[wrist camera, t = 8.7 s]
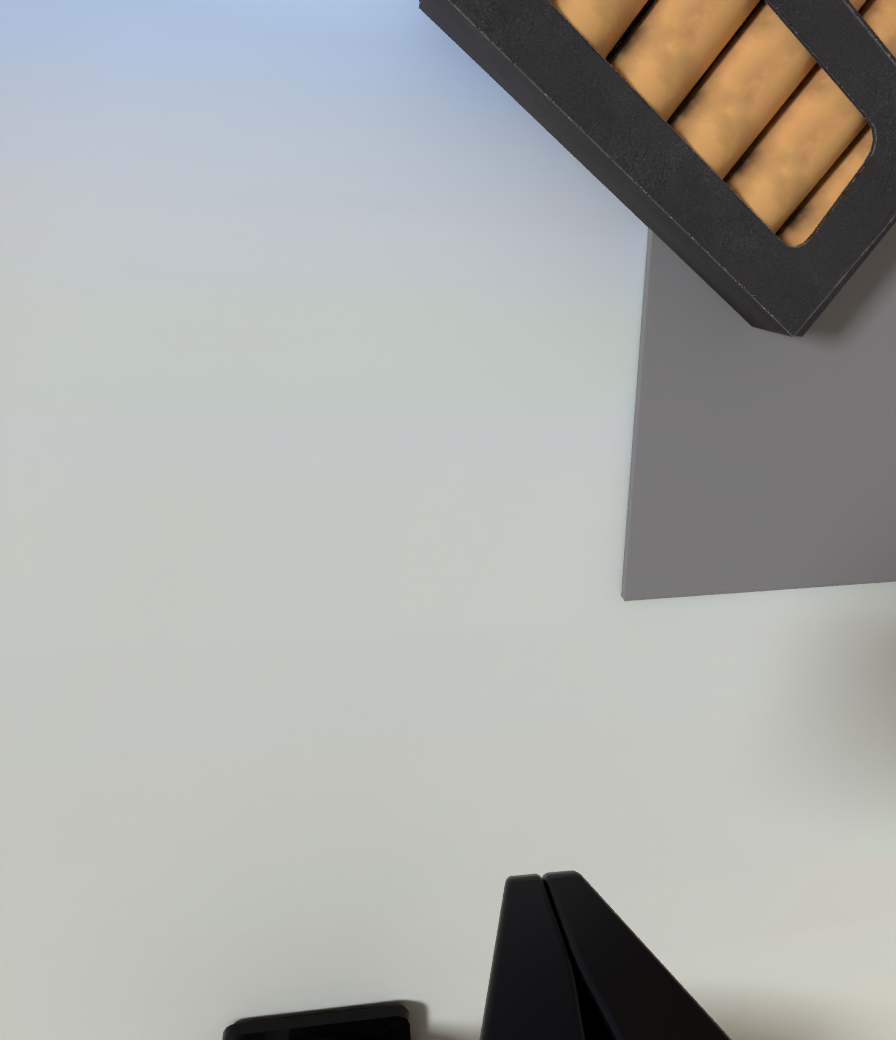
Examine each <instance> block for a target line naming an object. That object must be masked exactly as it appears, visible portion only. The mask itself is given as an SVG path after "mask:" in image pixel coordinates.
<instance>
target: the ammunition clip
mask: <svg viewBox="0 0 896 1040" xmlns="http://www.w3.org/2000/svg"><path fill="white" fill-rule="evenodd" d="M647 1H648V0H419V2H420V4H419V8H420V9H421V10H422V11H423V12H424V13H425V14H426V15H427V16H428V17H429V18H430V19H431V20H432V21H433V22H434V23H435V24H437V25H438V26H439V27H440V28H441V29H442V30H443V31H444V32H445V33H446V34H447V35H448V36H449V37H450V38H451V39H452V40H453V41H454V42H455V43H456V44H457V45H458V46H459V47H461V48H462V49H463V50H464V51H465V52H466V53H467V54H468V55H469V56H470V57H471V58H472V59H473V60H474V61H475V62H476V63H477V64H478V65H479V66H480V67H481V68H482V69H484V70H485V71H486V72H487V73H488V74H489V75H490V76H491V77H492V78H493V79H494V80H495V81H496V82H497V83H498V84H499V85H500V86H501V87H502V88H503V89H504V90H505V91H506V92H508V93H509V94H510V95H511V96H512V97H513V98H514V99H515V100H516V101H517V102H518V103H519V104H520V105H521V106H522V107H523V108H524V109H525V110H526V111H527V112H528V113H529V114H530V115H532V116H533V117H534V118H535V119H536V120H537V121H538V122H539V123H540V124H541V125H542V126H543V127H544V128H545V129H546V130H547V131H548V132H549V133H550V134H551V135H552V136H553V137H554V138H556V139H557V140H558V141H559V142H560V143H561V144H562V145H563V146H564V147H565V148H566V149H567V150H568V151H569V152H570V153H571V154H572V155H573V156H574V157H575V158H576V159H577V160H578V161H580V162H581V163H582V164H583V165H584V166H585V167H586V168H587V169H588V170H589V171H590V172H591V173H592V174H593V175H594V176H595V177H596V178H597V179H598V180H599V181H600V182H601V183H602V184H604V185H605V186H606V187H607V188H608V189H609V190H610V191H611V192H612V193H613V194H614V195H615V196H616V197H617V198H618V199H619V200H620V201H621V202H622V203H623V204H624V205H625V206H627V207H628V208H629V209H630V210H631V211H632V212H633V213H634V214H635V215H636V216H637V217H638V218H639V219H640V220H641V221H642V222H643V223H644V224H645V225H646V226H647V227H648V228H649V229H651V230H652V231H653V232H654V233H655V234H656V235H657V236H658V237H659V238H660V239H661V240H662V241H663V242H664V243H665V244H666V245H667V246H668V247H669V248H670V249H671V250H672V251H673V252H675V253H676V254H677V255H678V256H679V257H680V258H681V259H682V260H683V261H684V262H685V263H686V264H687V265H688V266H689V267H690V268H691V269H692V270H693V271H694V272H695V273H696V274H697V275H699V276H700V277H701V278H702V279H703V280H704V281H705V282H706V283H707V284H708V285H709V286H710V287H711V288H712V289H713V290H714V291H715V292H716V293H717V294H718V295H719V296H720V297H721V298H723V299H724V300H725V301H726V302H727V303H728V304H729V305H730V306H731V307H732V308H733V309H734V310H735V311H736V312H737V313H738V314H739V315H740V316H741V317H742V318H743V319H744V320H745V321H747V322H748V323H749V324H750V325H751V326H752V327H754V328H758V329H762V330H766V331H770V332H774V333H778V334H782V335H786V336H790V337H801V338H802V337H803V336H804V334H805V333H806V332H807V331H808V329H809V328H810V327H811V326H812V324H813V323H814V322H815V321H816V320H817V318H818V317H819V316H820V315H821V313H822V312H823V311H824V310H825V308H826V307H827V306H828V305H829V304H830V302H831V301H832V300H833V299H834V297H835V296H836V295H837V294H838V292H839V291H840V290H841V289H842V287H843V286H844V285H845V284H846V283H847V281H848V280H849V279H850V278H851V276H852V275H853V274H854V273H855V271H856V270H857V269H858V268H859V267H860V265H861V264H862V263H863V262H864V260H865V259H866V258H867V257H868V255H869V254H870V253H871V252H872V251H873V249H874V248H875V247H876V246H877V244H878V243H879V242H880V241H881V239H882V238H883V237H884V236H885V235H886V233H887V232H888V231H889V230H890V228H891V227H892V226H893V225H894V223H895V222H896V0H867V1H866V0H655V1H654V2H653V4H652V5H651V6H650V8H649V9H648V10H647V12H646V13H645V14H644V16H643V17H642V18H641V20H640V21H639V22H638V24H637V25H636V26H635V27H634V29H633V30H632V31H631V33H630V34H629V35H628V37H627V38H626V39H625V41H624V42H623V43H622V45H621V46H620V47H619V49H618V50H617V51H616V53H615V54H614V55H613V57H612V58H611V59H610V60H609V62H607V61H606V59H605V58H606V57H607V55H608V54H609V53H610V51H611V50H612V49H613V47H614V46H615V45H616V43H617V42H618V41H619V39H620V38H621V36H622V35H623V34H624V32H625V31H626V30H627V28H628V27H629V26H630V24H631V23H632V22H633V20H634V19H635V18H636V16H637V15H638V14H639V12H640V11H641V9H642V8H643V7H644V5H645V4H646V3H647ZM862 5H863V6H862ZM858 10H859V11H858ZM733 35H735V36H734V38H733V39H732V40H731V41H730V43H729V44H728V45H727V47H726V48H725V49H724V50H723V52H722V53H721V54H720V55H719V57H718V58H717V59H716V60H715V58H716V57H717V56H718V54H719V53H720V52H721V51H722V49H723V48H724V47H725V45H726V44H727V43H728V41H729V40H730V39H731V38H732V36H733ZM714 60H715V62H714V63H713V64H712V66H711V67H710V68H709V69H708V67H709V66H710V65H711V63H712V62H713V61H714ZM707 69H708V71H707V72H706V73H705V71H706V70H707ZM704 73H705V74H704ZM703 74H704V76H703V77H702V78H701V76H702V75H703ZM700 78H701V80H700V81H699V82H698V80H699V79H700ZM697 82H698V83H697ZM696 83H697V85H696V86H695V87H694V85H695V84H696ZM693 87H694V88H693ZM692 88H693V90H692V91H691V89H692ZM690 91H691V92H690ZM689 92H690V93H689ZM688 93H689V95H688ZM687 95H688V96H687ZM686 96H687V97H686ZM685 97H686V99H685V100H684V98H685ZM683 100H684V101H683ZM682 101H683V102H682ZM681 102H682V104H681ZM680 104H681V105H680ZM679 105H680V106H679ZM678 106H679V107H678ZM677 107H678V109H677ZM676 109H677V110H676ZM675 110H676V111H675ZM674 111H675V112H674ZM673 113H674V114H673ZM672 114H673V115H672ZM671 115H672V116H671ZM670 117H671V118H670ZM669 118H670V119H669ZM668 119H669V120H668ZM667 120H668V121H667Z"/></svg>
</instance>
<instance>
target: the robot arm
mask: <svg viewBox="0 0 896 1040" xmlns="http://www.w3.org/2000/svg"><path fill="white" fill-rule="evenodd" d="M222 1040H411V1037H410V1021H409V1012H408V1010H407V1009H406V1008H405V1007H403V1006H400V1005H393V1006H385V1007H376V1008H367V1009H359V1010H350V1011H342V1012H333V1013H325V1014H316V1015H308V1016H299V1017H290V1018H282V1019H273V1020H265V1021H256V1022H248V1023H239V1024H233V1025H230V1026H229V1027H227V1028H226V1029H225V1030H224V1033H223V1039H222ZM480 1040H731V1039H730V1038H729V1037H728V1036H727V1034H726V1033H725V1032H724V1031H723V1030H722V1029H721V1028H720V1027H719V1026H718V1025H717V1023H716V1022H715V1021H714V1020H713V1019H712V1018H711V1017H710V1016H709V1015H708V1014H707V1012H706V1011H705V1010H704V1009H703V1008H702V1007H701V1006H700V1005H699V1004H698V1003H697V1002H696V1000H695V999H694V998H693V997H692V996H691V995H690V994H689V993H688V992H687V991H686V989H685V988H684V987H683V986H682V985H681V984H680V983H679V982H678V981H677V980H676V978H675V977H674V976H673V975H672V974H671V973H670V972H669V971H668V970H667V969H666V967H665V966H664V965H663V964H662V963H661V962H660V961H659V960H658V959H657V958H656V957H655V955H654V954H653V953H652V952H651V951H650V950H649V949H648V948H647V947H646V946H645V944H644V943H643V942H642V941H641V940H640V939H639V938H638V937H637V936H636V935H635V933H634V932H633V931H632V930H631V929H630V928H629V927H628V926H627V925H626V924H625V923H624V921H623V920H622V919H621V918H620V917H619V916H618V915H617V914H616V913H615V912H614V910H613V909H612V908H611V907H610V906H609V905H608V904H607V903H606V902H605V901H604V899H603V898H602V897H601V896H600V895H599V894H598V893H597V892H596V891H595V890H594V888H593V887H592V886H591V885H590V884H589V883H588V882H587V881H586V880H585V879H584V878H583V876H582V875H581V874H579V873H578V872H576V871H561V872H550V873H546V874H544V875H543V877H542V878H541V877H540V876H539V875H538V874H529V875H518V876H510V877H508V878H507V880H506V882H505V887H504V893H503V899H502V906H501V912H500V918H499V924H498V930H497V936H496V943H495V949H494V955H493V961H492V967H491V973H490V980H489V986H488V992H487V998H486V1004H485V1010H484V1017H483V1023H482V1029H481V1035H480Z"/></svg>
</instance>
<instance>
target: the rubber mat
mask: <svg viewBox="0 0 896 1040" xmlns="http://www.w3.org/2000/svg"><path fill="white" fill-rule="evenodd" d="M866 1H867V0H866ZM862 6H863V5H862ZM858 11H859V10H858ZM734 36H735V35H733V36H732V38H731V39H730V40H729V41H728V43H727V44H726V45H725V47H724V48H723V49H722V51H721V52H720V53H719V54H718V56H717V57H716V58H715V60H716V59H717V58H718V57H719V55H720V54H721V53H722V52H723V50H724V49H725V48H726V47H727V45H728V44H729V43H730V41H731V40H732V39H733V38H734ZM715 60H714V61H713V62H712V63H711V65H710V66H709V67H708V69H709V68H710V67H711V66H712V64H713V63H714V62H715ZM708 69H707V70H706V71H705V73H706V72H707V71H708ZM705 73H704V74H705ZM704 74H703V75H702V76H701V78H702V77H703V76H704ZM701 78H700V79H699V80H698V82H699V81H700V80H701ZM698 82H697V83H698ZM697 83H696V84H695V85H694V87H695V86H696V85H697ZM694 87H693V88H694ZM693 88H692V89H691V91H692V90H693ZM691 91H690V92H691ZM690 92H689V93H690ZM689 93H688V95H689ZM688 95H687V96H688ZM687 96H686V97H687ZM686 97H685V98H684V100H685V99H686ZM684 100H683V101H684ZM683 101H682V102H683ZM682 102H681V104H682ZM681 104H680V105H681ZM680 105H679V106H680ZM679 106H678V107H679ZM678 107H677V109H678ZM677 109H676V110H677ZM676 110H675V111H676ZM675 111H674V112H675ZM673 114H674V113H673ZM673 114H672V115H673ZM672 115H671V116H672ZM670 118H671V117H670ZM670 118H669V119H670ZM669 119H668V120H669ZM668 120H667V121H668ZM893 581H896V222H895V223H894V225H893V226H892V227H891V228H890V230H889V231H888V232H887V233H886V235H885V236H884V237H883V238H882V239H881V241H880V242H879V243H878V244H877V246H876V247H875V248H874V249H873V251H872V252H871V253H870V254H869V255H868V257H867V258H866V259H865V260H864V262H863V263H862V264H861V265H860V267H859V268H858V269H857V270H856V271H855V273H854V274H853V275H852V276H851V278H850V279H849V280H848V281H847V283H846V284H845V285H844V286H843V287H842V289H841V290H840V291H839V292H838V294H837V295H836V296H835V297H834V299H833V300H832V301H831V302H830V304H829V305H828V306H827V307H826V308H825V310H824V311H823V312H822V313H821V315H820V316H819V317H818V318H817V320H816V321H815V322H814V323H813V324H812V326H811V327H810V328H809V329H808V331H807V332H806V333H805V334H804V336H803V337H802V338H801V337H790V336H786V335H782V334H778V333H774V332H770V331H766V330H762V329H758V328H754V327H752V326H751V325H750V324H749V323H748V322H747V321H745V320H744V319H743V318H742V317H741V316H740V315H739V314H738V313H737V312H736V311H735V310H734V309H733V308H732V307H731V306H730V305H729V304H728V303H727V302H726V301H725V300H724V299H723V298H721V297H720V296H719V295H718V294H717V293H716V292H715V291H714V290H713V289H712V288H711V287H710V286H709V285H708V284H707V283H706V282H705V281H704V280H703V279H702V278H701V277H700V276H699V275H697V274H696V273H695V272H694V271H693V270H692V269H691V268H690V267H689V266H688V265H687V264H686V263H685V262H684V261H683V260H682V259H681V258H680V257H679V256H678V255H677V254H676V253H675V252H673V251H672V250H671V249H670V248H669V247H668V246H667V245H666V244H665V243H664V242H663V241H662V240H661V239H660V238H659V237H658V236H657V235H656V234H655V233H654V232H653V231H652V230H651V229H649V228H648V241H647V254H646V268H645V281H644V295H643V308H642V322H641V335H640V349H639V362H638V376H637V389H636V403H635V416H634V430H633V443H632V457H631V470H630V484H629V497H628V511H627V524H626V538H625V551H624V565H623V578H622V592H621V596H622V598H623V599H624V601H631V600H644V599H658V598H672V597H686V596H700V595H714V594H727V593H741V592H755V591H769V590H783V589H797V588H810V587H824V586H838V585H852V584H866V583H880V582H893Z"/></svg>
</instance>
